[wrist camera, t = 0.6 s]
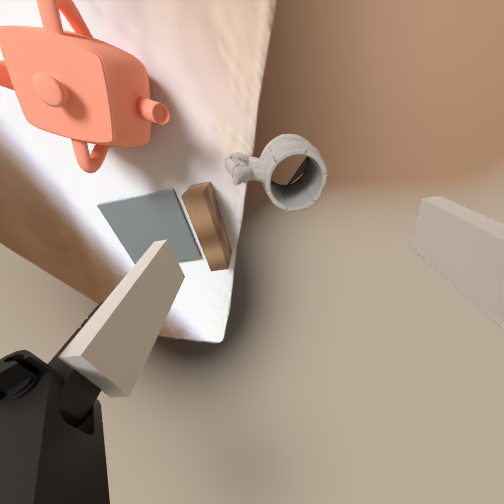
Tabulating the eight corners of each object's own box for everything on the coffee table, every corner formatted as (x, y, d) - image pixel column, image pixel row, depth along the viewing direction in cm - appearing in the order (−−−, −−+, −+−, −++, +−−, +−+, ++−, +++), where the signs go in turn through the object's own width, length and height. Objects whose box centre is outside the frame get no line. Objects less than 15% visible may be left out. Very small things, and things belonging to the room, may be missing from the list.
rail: (191, 185, 31) (181, 196, 27) (210, 181, 31) (202, 192, 27) (216, 254, 38) (211, 271, 34) (231, 251, 38) (228, 268, 34)
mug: (304, 194, 31) (325, 231, 22) (228, 181, 31) (213, 214, 21) (321, 138, 27) (356, 152, 17) (233, 122, 26) (217, 127, 17)
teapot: (122, -8, 21) (26, -92, 12) (192, 118, 26) (160, 120, 18) (37, 76, 25) (-79, 56, 16) (114, 169, 30) (58, 191, 22)
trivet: (99, 204, 33) (97, 205, 33) (173, 189, 32) (171, 190, 31) (139, 266, 40) (137, 268, 40) (201, 256, 39) (200, 258, 38)
